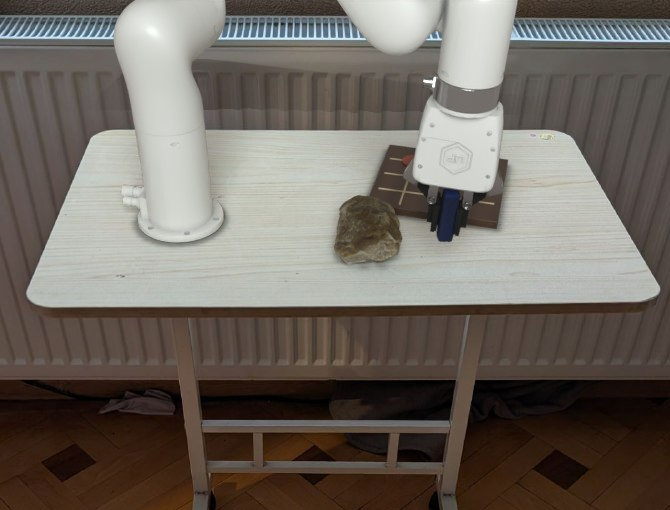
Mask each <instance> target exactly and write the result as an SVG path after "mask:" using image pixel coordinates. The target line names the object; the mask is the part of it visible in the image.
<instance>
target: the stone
mask: <svg viewBox="0 0 670 510" xmlns="http://www.w3.org/2000/svg"><path fill="white" fill-rule="evenodd" d="M338 210H339V212H338V215H339V216H338V220H337V225H336V232H335V233H336V235H335V239H334V245H333V250H334V251H335V253H336V254H337V255H338V256H339V258H340V259H341V261H342V262H343V263H345V264H346V265H352V264H356V265H357V264H358V265H359V264H367V263H384V262H386V261H387V260H388V259H391V258H392V257H395V256H397V255H399V254H400V249H401V244H402V241H403V236H402V232H401V229H400V227H401V226H400V225H401V224H400V223H401V222H400V219H399V217H398V215H396V214H395V211H394V209H393V208H392V207H391V206H390V204H389V203H387V202H385V201H381V200H379V199H377V198H375V197H371V196H369V195H361V194H357V195H354V196H353V197H352V196H351V198H349V199H347V200H346V201H344V202H343V203H342V204H341V206H339V208H338Z"/></svg>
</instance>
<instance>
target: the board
mask: <svg viewBox="0 0 670 510" xmlns="http://www.w3.org/2000/svg"><path fill="white" fill-rule="evenodd" d="M415 150H416V147H412V146H406V145H405V146H404V145H397V144H389V145H388V147H387V150H386V153H385V155H384V157H383V160H382V163H381V165H380V166H379V167H380V168H379V170H378V172H377V175H376V178H375V180H374V183H373V185H372V188H371V190H370V193H369V195H368V196H371V197H375V198H377V199H379V200H381V201H385V202H387V203H389V204H390V206H391V207H392V208H393V209H394V211H395V214H396V215H397V216H404V217H409V218H416V219H417V218H418V219H423V220H425V219H426V220H427V214H428V207H429V203H428V202H427V198H426V197H425V196H424V194H423V193H422V192H421V191H420V190H419V188H418V187H417V186H416V185H413V184H412V183H410V182H409V181H407V180H405V179H404V178H403V174H404V171H405V169H406V168H407V166H408V165H409V163H410V162H411V160H412V159H413V157H414V156H415ZM508 164H509V159H506V158H499V164H498V167H499V170H500V174H501V177H502V181H503V184H504V185H505V182H506V176H507V172H508V171H507V170H508ZM444 189H449V188H443V187H440V189H439V192H440V193H441V196H442V192H443V190H444ZM459 192H460V199H461V198H462V196H463V195H464V191H462V190H459ZM503 194H504V191H503V192H502V193H501V194H498V195H494V196H490V197H489V196H488V197H485V198H484V199H482V200H481V201H479V202H478V203H476V204H474V205H473V206H472V207H471V209H469V213H468V219H467V224H466V226H473V227H481V228H488V229H495V230H496V229H498V224H499V219H500V218H499V217H500V212H501V208H502V207H501V206H502V200H503Z"/></svg>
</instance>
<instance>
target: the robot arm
mask: <svg viewBox="0 0 670 510" xmlns="http://www.w3.org/2000/svg"><path fill="white" fill-rule="evenodd" d="M336 1H337V3H338V4H339V5H340V7H341V8H342V10H343V11H344V12H345V15H347V17H348V18H349V20H350V21H351V23H352V24H353V25H354V27H355V28H356V29H357V31H358V32H359V34H360V35H362V37H363V38H364V39H365V41H367V42H368V43H369V44H370V45H371V46H372V47H373V48H375V49H376V50H377V51H379V52H381V53H383V54H386V55H389V56H393V57H399V56H400V57H401V56H406V55H408V54H409V55H410V54H411V53H413V52H414V51H417V50H418V49H419V48H420V47H422V45H423V44H424V43H426V41H427V40H428V38H429V37H430V36H431V34H433V33H436V32H438V33H440V35H441V42H440V48H439V49H440V50H439V57H438V65H437V72H435V73H434V75H433V74H431V75H424V77H423V80H422V81H423V82H422V88H424V89H428V90H430V91H431V93H432V94H430V96H429V98H427V100H426V102H425V105H424V108H423V112H422V115H421V118H420V122H419V127H418V133H417V139H416V145H415V148H416V150H415V156H414V157H413V159H412V160H411V162H410V163H409V165H408V166H407V168H406V169H405V171H404V174H403V178H404V179H405V180H407V181H409V182H410V183H412V184H413V185H416V186H417V187H418V188H419V190H420V191H421V192H422V193H423V194H424V196H425V197H426V198H427V202H428V203H429V207H428V214H427V219H426V223H430V229H429V232H430V233H435V232H437V224H438V218H439V213H440V204H441V198H442V196H441V193H440V192H439V189H440V187H443V188H449V189H455V190H462V191H464V195H463V196H462V198H461V199H460V202H459V206H458V210H457V215H456V221H455V227H454V233H453V234H454V235H453V236H455V237H459V236H460V231H461V228H462V229H466V228H467V225H466V224H467V219H468V213H469V209H471V207H472V206H473V205H474V204H476V203H478V202H479V201H481V200H482V199H484V198H485V197H488V196H489V197H490V196H494V195H498V194H501V193H502V192H503V193H504V187H505V183H504V184H503V181H502V177H501V174H500V170H499V167H498V164H499V159H500V157H501V151H502V142H503V136H504V135H503V133H504V106H503V103H501V101H500V97H501V92H502V87H503V81H504V77H505V71H506V65H507V60H508V54H509V50H510V43H511V40H512V34H513V29H514V23H515V17H516V13H517V8H518V2H519V1H518V0H336ZM226 7H227V6H226V0H132V1H131V3H129V4H128V5H127V6H126V7H125V8H124V9H123V10H122V12H121V13H120V15H119V16H118V18H117V19H116V22H115V25H114V29H113V46H114V51H115V55H116V59H117V61H118V63H119V67H120V69H121V72H122V74H123V75H122V76H123V79H124V81H125V84H126V89H127V94H128V98H129V103H130V109H131V116H132V123H133V127H134V133H135V134H134V135H135V139H136V145H137V147H136V148H137V153H138V159H139V167H140V173H141V180H142V187H141V186H137V185H131V184H126V183H124V184H122V185H121V190H120V194H121V197H122V205H124V206H129V207H137V209H139V211H138V213H137V224H138V227H139V230H141V232H142V233H144V234H145V235H146V236H148V237H149V238H151V239H154V240H157V241H160V242H165V243H177V244H179V243H189V242H194V241H195V242H196V241H198V240H199V241H200V240H202V239H205V238H207V237H209V236H210V235H213V234H214V233H215V232H217V231H218V230H219V229H220V227H221V226H222V225H223V224H224V220H225V217H224V216H225V215H224V213H225V212H224V209H223V206H222V204H221V203H219V202H218V201H217V200H216V199H214V198H213V197H212V187H211V177H210V165H209V155H208V154H209V153H208V143H207V132H206V120H205V119H206V118H205V111H204V103H203V97H202V93H201V91H200V88H199V85H198V84H197V81H196V79H195V77H194V74H193V71H192V64H193V63H194V61H195V60H197V59H198V58H199V57H200V56H201V55H202V54H203V53H205V52H206V51H208V50H209V49H210V48H211V47H212V46H213V45H214V44H215V43H216V42H217V41H218V40H219V39H220V37H221V35H222V34H223V32H224V28H225V25H226V16H227V15H226V14H227V10H226V9H227V8H226Z"/></svg>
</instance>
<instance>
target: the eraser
mask: <svg viewBox="0 0 670 510" xmlns="http://www.w3.org/2000/svg"><path fill="white" fill-rule="evenodd" d="M459 202H460V192H459V190H455V189H444V190H443V192H442V198H441V204H440V213H439V218H438V224H437V228H436V238H437V241H438V242H439V243H451V242H452V241H453V238H454V236H455V235H454V234H453V233H454V227H455V221H456V215H457V210H458V206H459Z"/></svg>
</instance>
